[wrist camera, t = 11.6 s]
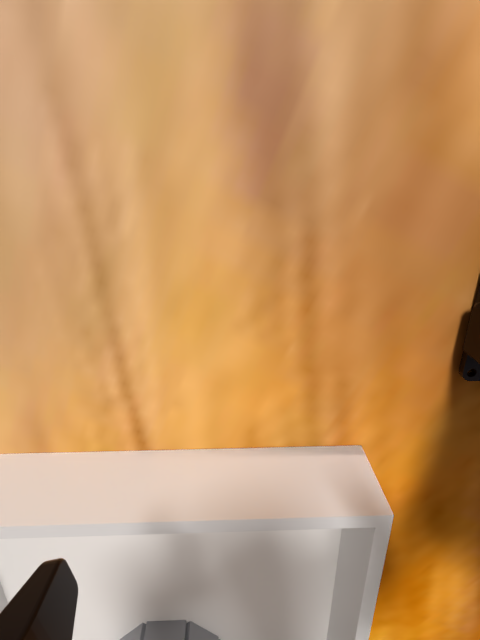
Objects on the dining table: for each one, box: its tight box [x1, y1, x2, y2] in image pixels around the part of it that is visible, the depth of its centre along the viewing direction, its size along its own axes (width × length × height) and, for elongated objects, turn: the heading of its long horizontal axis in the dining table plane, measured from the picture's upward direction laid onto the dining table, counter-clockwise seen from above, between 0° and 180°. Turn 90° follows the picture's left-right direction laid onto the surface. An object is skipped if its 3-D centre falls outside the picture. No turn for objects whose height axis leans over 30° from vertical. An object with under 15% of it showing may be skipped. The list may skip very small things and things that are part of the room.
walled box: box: [0, 445, 394, 640], centre depth 26 cm, size 24×24×5 cm
